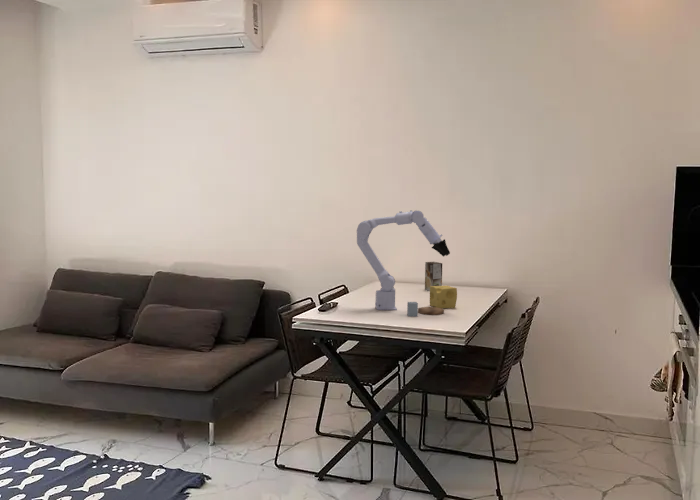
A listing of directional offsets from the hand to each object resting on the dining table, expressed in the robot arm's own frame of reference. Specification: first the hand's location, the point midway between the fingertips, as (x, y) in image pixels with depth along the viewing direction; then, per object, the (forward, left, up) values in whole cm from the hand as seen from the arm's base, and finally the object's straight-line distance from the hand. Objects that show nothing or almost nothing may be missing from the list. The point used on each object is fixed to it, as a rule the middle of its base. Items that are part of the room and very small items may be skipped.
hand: (446, 254), depth 316 cm
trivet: (-8, -4, -27) cm, 28 cm away
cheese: (+1, +11, -27) cm, 29 cm away
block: (-18, -11, -27) cm, 34 cm away
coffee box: (+7, +61, -27) cm, 67 cm away
